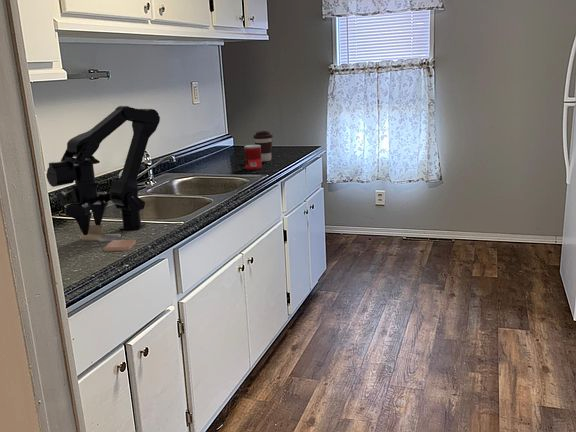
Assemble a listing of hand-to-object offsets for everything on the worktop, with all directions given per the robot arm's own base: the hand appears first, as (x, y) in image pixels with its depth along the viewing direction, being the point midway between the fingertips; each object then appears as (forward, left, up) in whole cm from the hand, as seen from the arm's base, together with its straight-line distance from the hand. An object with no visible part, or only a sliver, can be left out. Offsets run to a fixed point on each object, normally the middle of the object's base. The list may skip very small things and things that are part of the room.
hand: (92, 230), depth 177 cm
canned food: (-114, +31, -3) cm, 118 cm away
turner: (0, +2, -3) cm, 4 cm away
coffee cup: (-136, +33, -3) cm, 140 cm away
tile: (+8, +8, -2) cm, 12 cm away
